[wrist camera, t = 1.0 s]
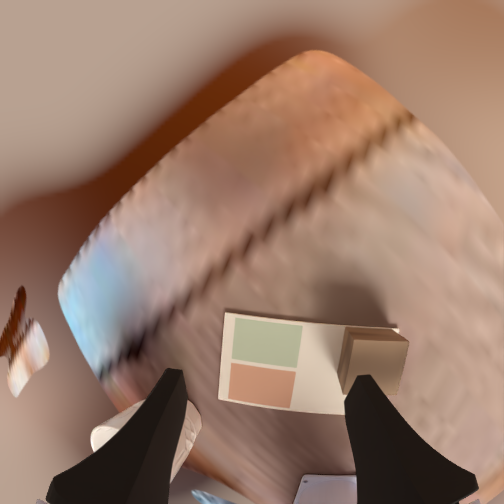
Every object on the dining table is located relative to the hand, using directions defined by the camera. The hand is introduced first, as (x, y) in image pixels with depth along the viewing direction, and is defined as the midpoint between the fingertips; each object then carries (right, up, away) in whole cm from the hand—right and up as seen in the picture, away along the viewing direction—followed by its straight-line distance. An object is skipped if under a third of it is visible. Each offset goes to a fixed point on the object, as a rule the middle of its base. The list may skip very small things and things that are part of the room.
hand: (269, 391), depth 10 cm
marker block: (+9, -3, +12) cm, 15 cm away
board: (+4, -5, +13) cm, 14 cm away
